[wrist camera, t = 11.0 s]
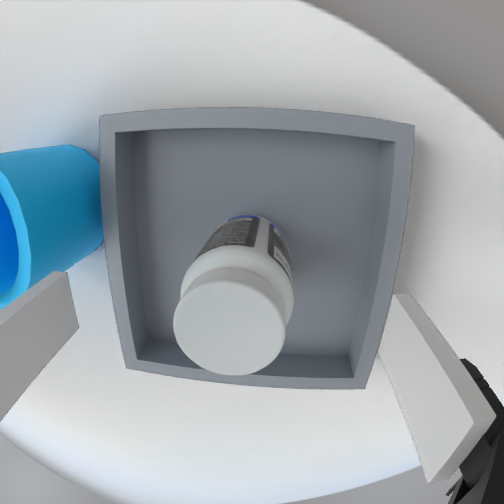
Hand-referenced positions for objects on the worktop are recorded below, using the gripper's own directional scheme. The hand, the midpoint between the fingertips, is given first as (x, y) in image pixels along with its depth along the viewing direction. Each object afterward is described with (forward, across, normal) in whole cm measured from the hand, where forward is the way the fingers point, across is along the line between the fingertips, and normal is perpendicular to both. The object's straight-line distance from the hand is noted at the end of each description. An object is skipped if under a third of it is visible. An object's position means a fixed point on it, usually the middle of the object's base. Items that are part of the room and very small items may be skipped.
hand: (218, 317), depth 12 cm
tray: (+8, +1, 0) cm, 8 cm away
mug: (+9, -14, +3) cm, 17 cm away
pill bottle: (+8, +1, 0) cm, 8 cm away
